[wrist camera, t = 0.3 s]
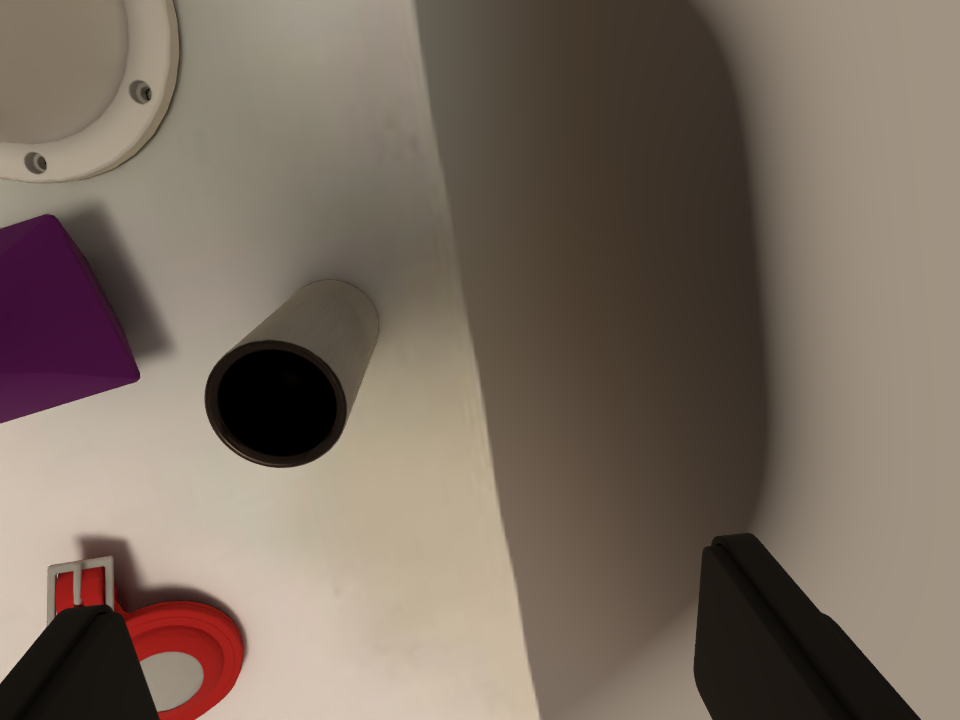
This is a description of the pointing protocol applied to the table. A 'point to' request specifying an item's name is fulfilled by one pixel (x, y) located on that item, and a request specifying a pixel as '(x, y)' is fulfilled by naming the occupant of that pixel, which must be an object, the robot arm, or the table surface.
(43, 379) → the perfume bottle
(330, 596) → the table surface
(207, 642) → the tracker holder
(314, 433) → the gray hollow tube
